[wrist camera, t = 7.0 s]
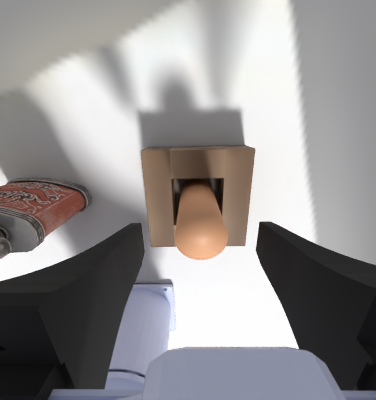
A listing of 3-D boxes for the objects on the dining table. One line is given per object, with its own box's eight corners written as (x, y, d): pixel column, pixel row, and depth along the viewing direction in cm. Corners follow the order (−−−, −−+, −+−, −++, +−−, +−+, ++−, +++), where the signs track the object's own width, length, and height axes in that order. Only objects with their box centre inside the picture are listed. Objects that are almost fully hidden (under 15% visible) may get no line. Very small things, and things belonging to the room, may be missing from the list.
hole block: (156, 230, 21) (151, 246, 18) (148, 147, 18) (140, 151, 15) (237, 229, 21) (244, 245, 18) (244, 145, 17) (255, 148, 15)
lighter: (16, 204, 20) (-136, 271, 11) (9, 173, 19) (-169, 218, 9) (92, 213, 20) (8, 286, 11) (90, 182, 19) (-7, 236, 10)
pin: (182, 209, 19) (177, 261, 12) (179, 179, 18) (171, 216, 11) (213, 207, 19) (228, 258, 12) (212, 177, 18) (227, 211, 11)
